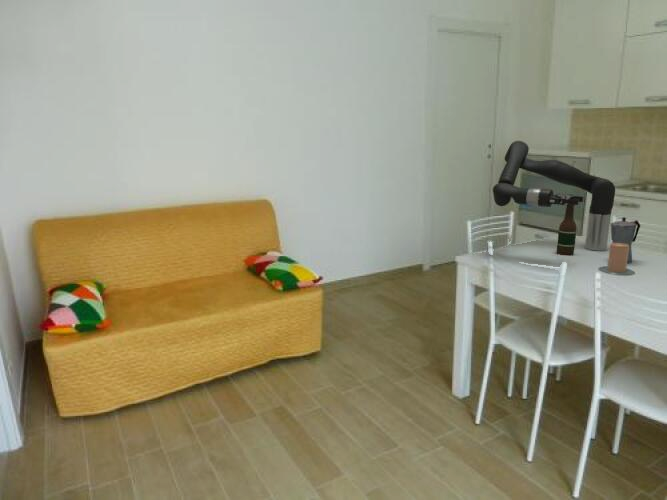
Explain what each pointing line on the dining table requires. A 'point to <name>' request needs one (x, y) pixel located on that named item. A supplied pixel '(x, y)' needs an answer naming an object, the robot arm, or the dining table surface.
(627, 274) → the plate
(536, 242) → the dining table surface
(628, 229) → the moka pot
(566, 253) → the beer bottle
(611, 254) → the cup
